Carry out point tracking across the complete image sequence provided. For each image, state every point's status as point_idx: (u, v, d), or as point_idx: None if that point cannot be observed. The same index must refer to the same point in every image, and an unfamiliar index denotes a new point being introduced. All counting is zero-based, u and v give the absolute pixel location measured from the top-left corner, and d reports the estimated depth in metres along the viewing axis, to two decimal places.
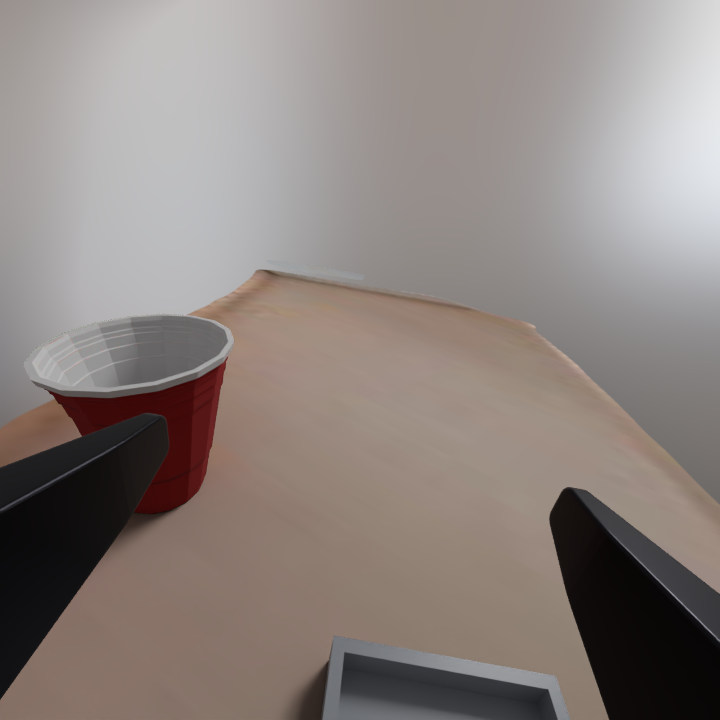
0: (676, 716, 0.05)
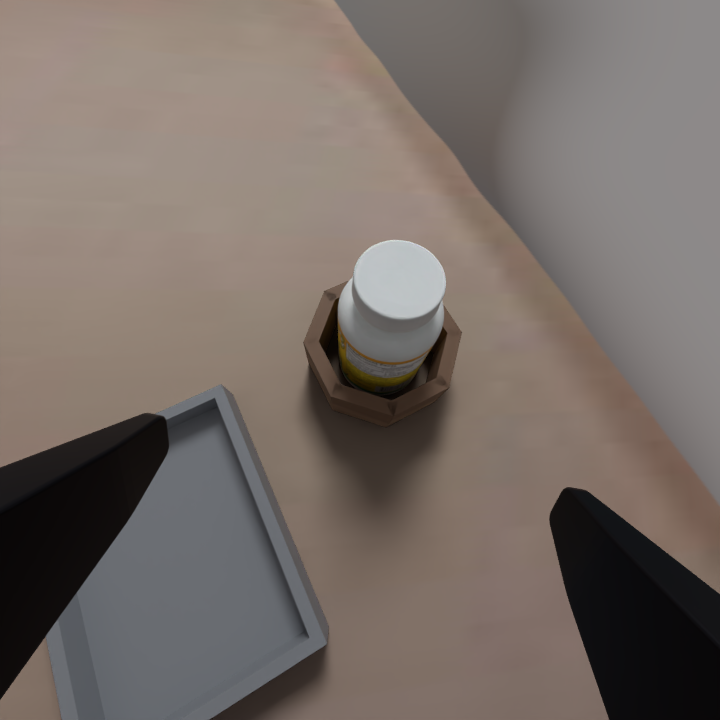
0: (676, 716, 0.05)
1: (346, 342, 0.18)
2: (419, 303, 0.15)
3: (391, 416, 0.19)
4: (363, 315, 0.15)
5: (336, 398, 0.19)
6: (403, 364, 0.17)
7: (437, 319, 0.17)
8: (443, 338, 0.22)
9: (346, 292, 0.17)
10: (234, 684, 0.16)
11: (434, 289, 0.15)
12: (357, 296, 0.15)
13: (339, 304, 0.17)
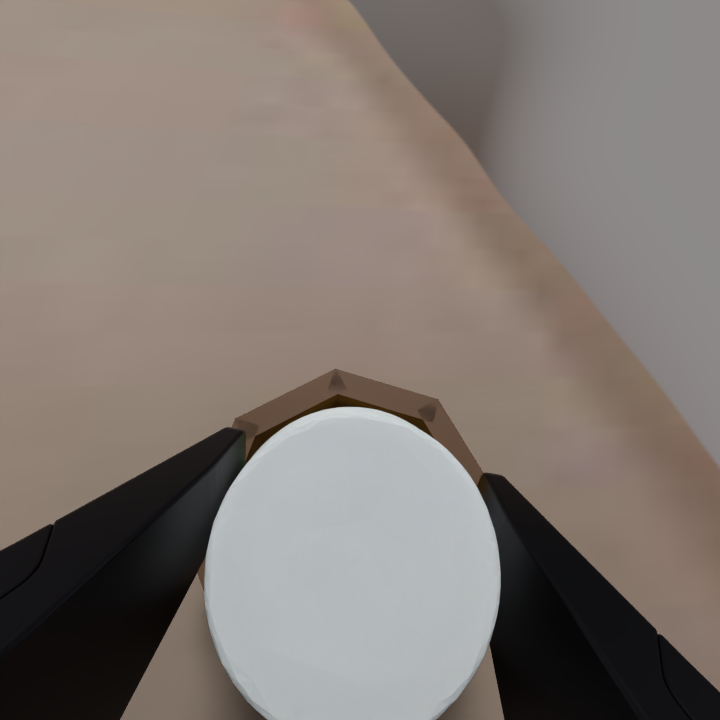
0: (545, 692, 0.05)
1: None
2: (416, 670, 0.04)
3: None
4: None
5: None
6: None
7: None
8: None
9: None
10: None
11: (465, 601, 0.05)
12: None
13: None
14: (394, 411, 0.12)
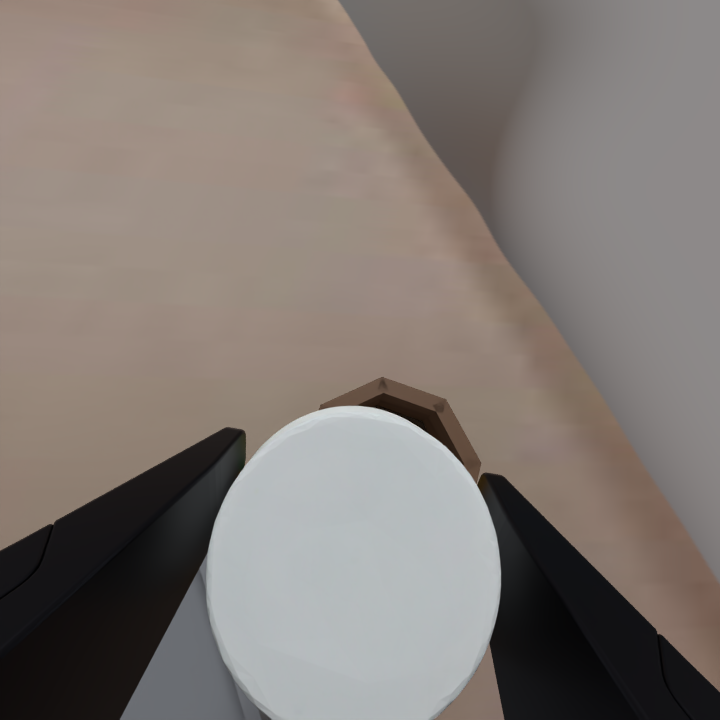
0: (545, 692, 0.05)
1: None
2: (416, 669, 0.04)
3: None
4: None
5: None
6: None
7: None
8: None
9: None
10: None
11: (466, 600, 0.05)
12: (216, 632, 0.05)
13: None
14: (418, 405, 0.19)
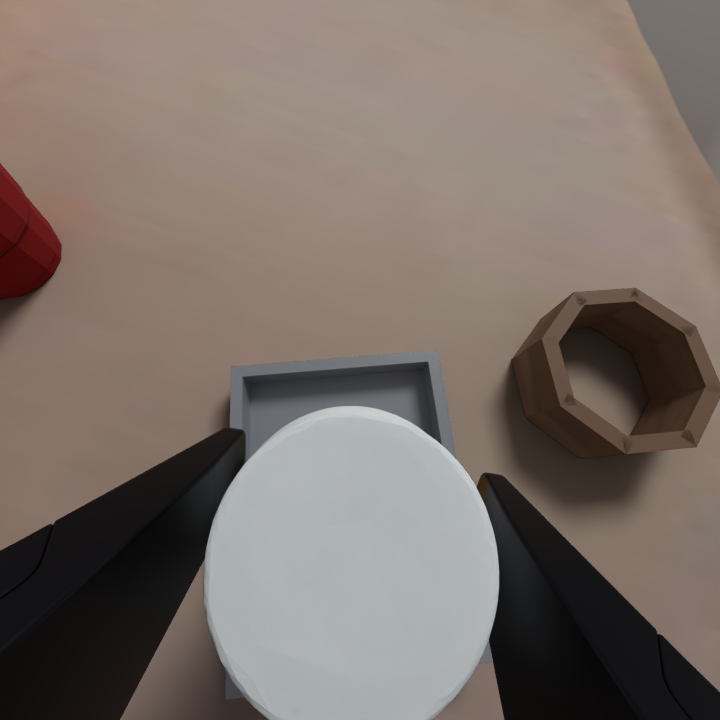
0: (545, 691, 0.05)
1: None
2: (413, 669, 0.04)
3: (621, 453, 0.17)
4: None
5: (564, 410, 0.17)
6: None
7: None
8: (690, 389, 0.19)
9: None
10: None
11: (464, 601, 0.05)
12: (214, 632, 0.05)
13: None
14: (666, 323, 0.19)
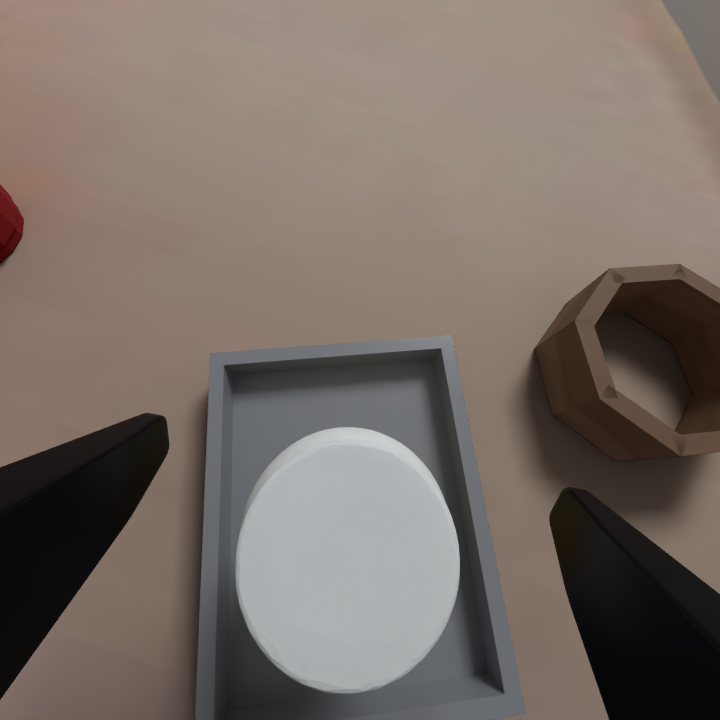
0: (676, 716, 0.05)
1: None
2: (392, 638, 0.06)
3: (674, 454, 0.14)
4: None
5: (604, 404, 0.15)
6: None
7: None
8: None
9: None
10: (399, 708, 0.12)
11: (432, 587, 0.06)
12: None
13: None
14: (717, 303, 0.16)
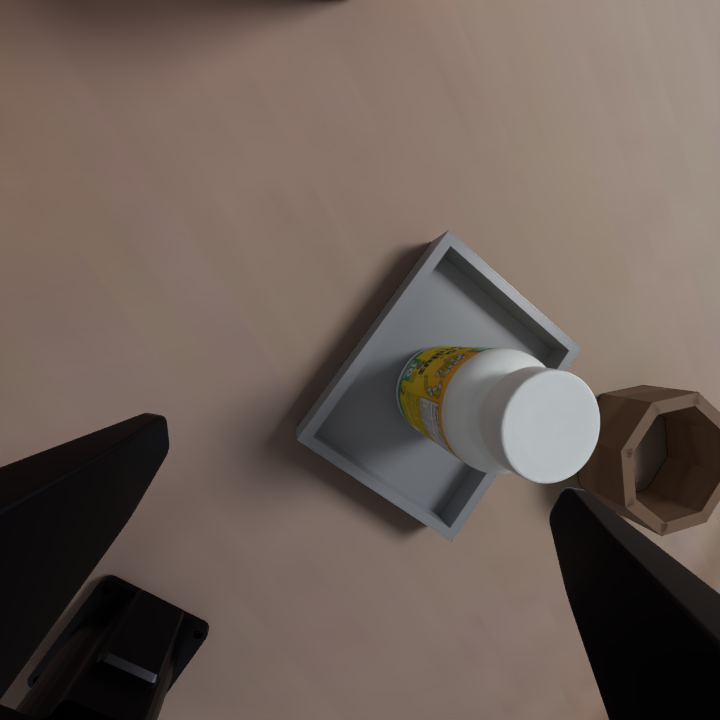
0: (676, 716, 0.05)
1: (437, 403, 0.15)
2: (544, 468, 0.12)
3: (622, 504, 0.22)
4: (484, 423, 0.13)
5: (619, 455, 0.21)
6: None
7: None
8: (687, 505, 0.24)
9: (484, 367, 0.14)
10: (401, 495, 0.20)
11: (569, 464, 0.12)
12: (500, 412, 0.12)
13: (466, 370, 0.14)
14: None
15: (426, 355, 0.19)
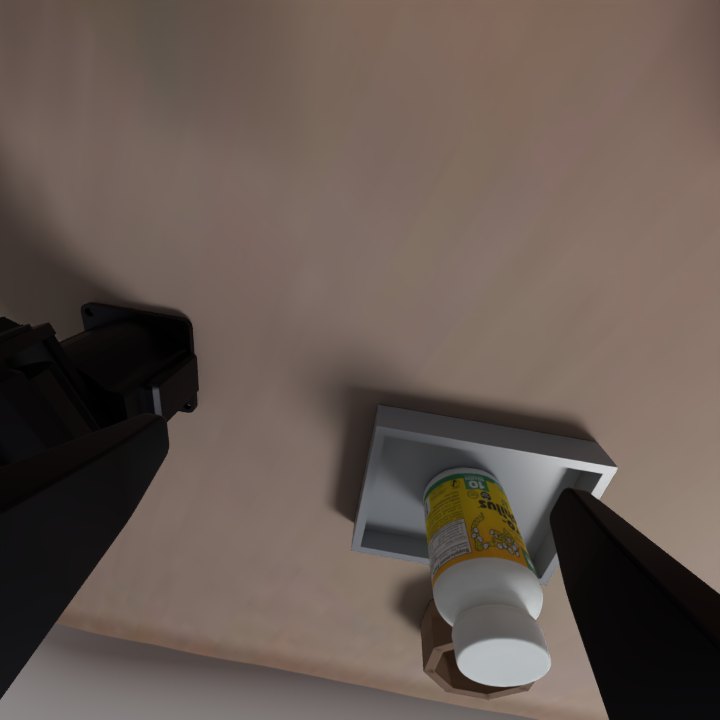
0: (676, 716, 0.05)
1: (471, 550, 0.18)
2: (469, 666, 0.16)
3: (434, 644, 0.27)
4: (481, 614, 0.16)
5: None
6: (432, 580, 0.19)
7: None
8: (451, 675, 0.30)
9: (520, 585, 0.16)
10: (368, 508, 0.23)
11: (478, 677, 0.16)
12: (499, 632, 0.15)
13: (511, 571, 0.17)
14: (497, 690, 0.29)
15: (494, 493, 0.21)
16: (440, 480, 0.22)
